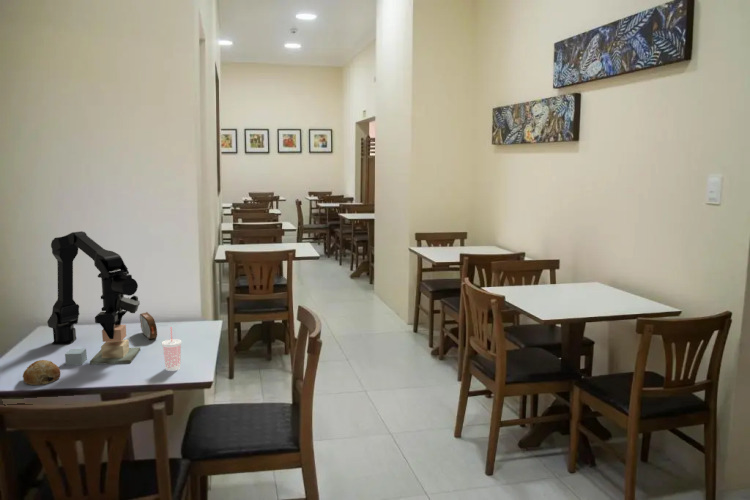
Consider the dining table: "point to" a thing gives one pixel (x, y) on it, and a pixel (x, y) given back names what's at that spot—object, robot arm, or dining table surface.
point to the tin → (148, 325)
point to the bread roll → (41, 373)
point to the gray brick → (76, 356)
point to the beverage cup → (172, 353)
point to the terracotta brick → (115, 334)
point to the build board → (115, 360)
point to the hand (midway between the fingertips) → (114, 335)
